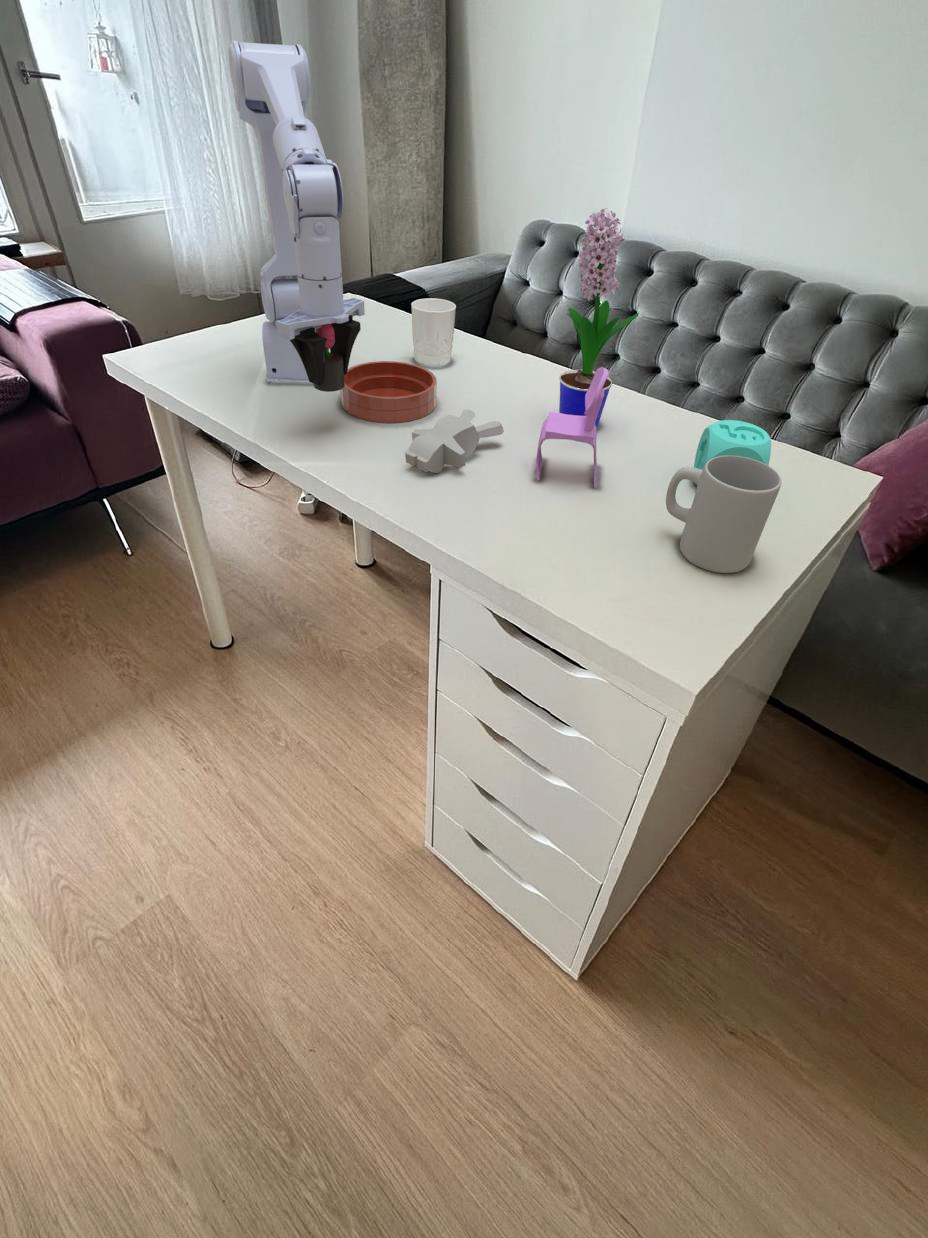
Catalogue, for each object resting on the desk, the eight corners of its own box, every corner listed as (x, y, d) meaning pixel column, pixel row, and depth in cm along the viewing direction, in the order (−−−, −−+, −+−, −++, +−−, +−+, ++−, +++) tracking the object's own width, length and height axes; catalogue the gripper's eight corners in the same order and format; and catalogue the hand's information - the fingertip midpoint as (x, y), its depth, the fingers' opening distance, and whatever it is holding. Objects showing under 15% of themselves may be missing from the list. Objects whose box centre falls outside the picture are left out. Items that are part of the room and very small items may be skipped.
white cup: (452, 370, 122) (455, 313, 116) (409, 368, 122) (409, 310, 116) (454, 355, 128) (456, 299, 122) (413, 352, 128) (413, 296, 122)
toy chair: (537, 456, 99) (551, 353, 89) (597, 463, 98) (617, 360, 88) (532, 483, 93) (547, 376, 83) (596, 492, 92) (618, 384, 82)
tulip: (312, 391, 95) (306, 327, 89) (315, 379, 98) (309, 316, 93) (343, 391, 95) (339, 328, 90) (345, 379, 99) (341, 317, 93)
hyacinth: (613, 440, 104) (661, 219, 84) (548, 431, 105) (579, 211, 86) (615, 417, 111) (659, 207, 91) (553, 409, 112) (584, 199, 92)
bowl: (339, 425, 103) (337, 397, 100) (344, 386, 114) (342, 359, 111) (438, 427, 104) (439, 399, 102) (433, 388, 116) (434, 361, 113)
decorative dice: (690, 468, 99) (706, 416, 93) (746, 475, 98) (765, 423, 93) (695, 495, 93) (712, 441, 87) (755, 503, 92) (775, 449, 87)
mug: (760, 551, 83) (793, 471, 76) (734, 583, 78) (767, 500, 70) (670, 515, 88) (693, 438, 81) (641, 543, 83) (663, 462, 76)
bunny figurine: (389, 435, 93) (461, 393, 100) (393, 467, 96) (462, 424, 104) (440, 459, 88) (511, 413, 96) (442, 491, 92) (510, 445, 99)
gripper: (301, 292, 81) (311, 401, 90) (379, 270, 90) (382, 371, 99) (260, 280, 84) (275, 387, 93) (340, 260, 93) (347, 359, 102)
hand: (328, 378), depth 96 cm, fingers closed on tulip, 4 cm apart
